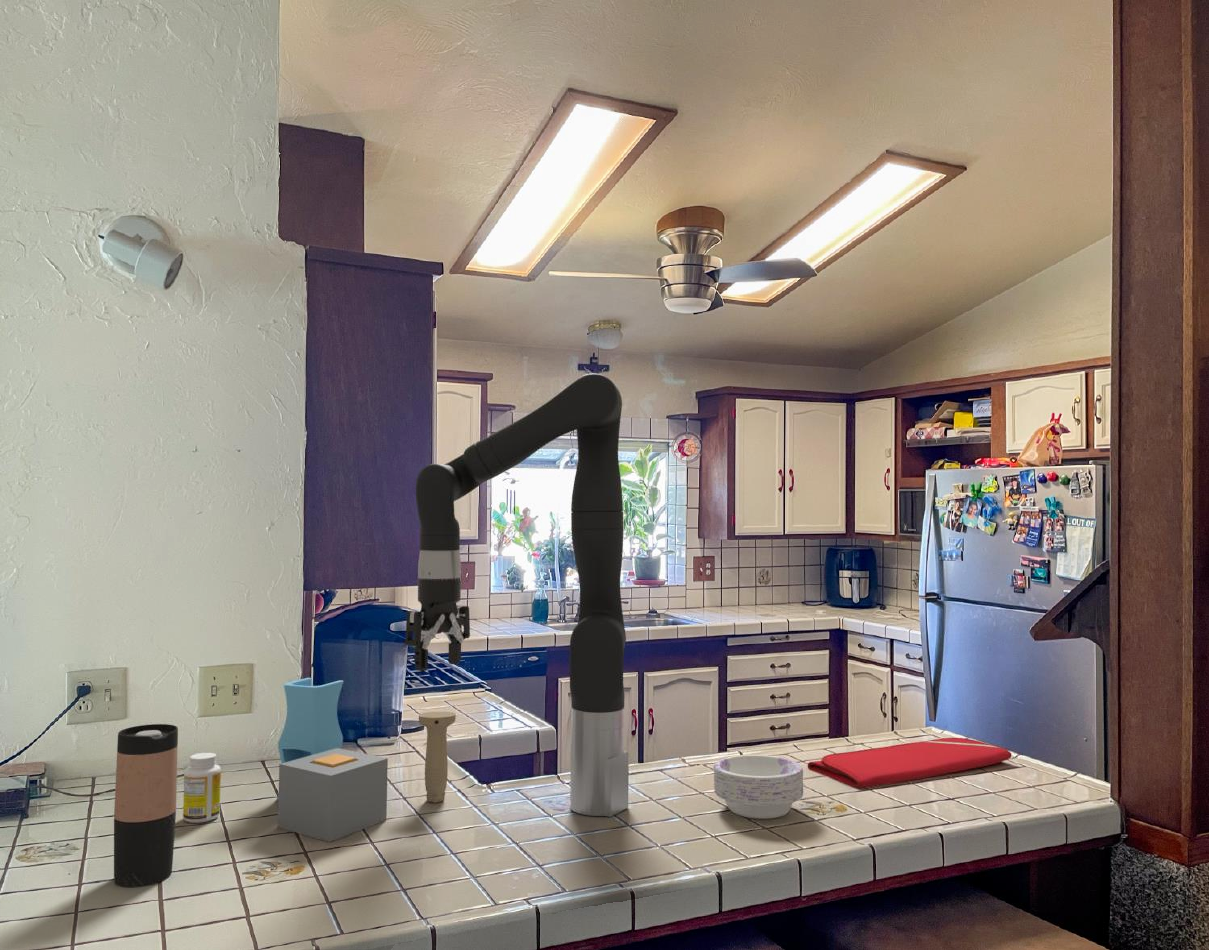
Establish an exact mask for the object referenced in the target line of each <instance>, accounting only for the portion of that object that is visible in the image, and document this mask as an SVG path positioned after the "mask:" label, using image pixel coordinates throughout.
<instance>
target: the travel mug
mask: <svg viewBox="0 0 1209 950" xmlns="http://www.w3.org/2000/svg"><path fill="white" fill-rule="evenodd" d="M178 737H179V729H178V726H176V725H173V724H168V723H167V724H166V723H165V724H164V723H154V724H153V723H152V724H143V725H137V726H130V727H127V728H124V729H121V730H120V731H118V733H117V746H116V747H117V748H116V750H117V751H116V769H115V789H114V791H115V793H114V814H113V818H114V819H113V881H114V883H115V885H117V886H119V887H123V888H139V887H146V886H151V885H154V884H158V883H160V882H162V881H165V880H166V879H167V878H170V877H171V875H172V873H173V863H174V848H175V846H174V845H175V833H176V831H175V830H176V818H177V791H178V790H177V789H178V786H177V785H178V749H179V748H178V746H179V745H178V743H179V739H178Z"/></svg>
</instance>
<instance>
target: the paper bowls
mask: <svg viewBox="0 0 1209 950" xmlns="http://www.w3.org/2000/svg"><path fill="white" fill-rule="evenodd" d="M803 779H804V770H803V766H802V765H801V764H800V763H798V762H797V761H795V760H792V759H789V758H787V757H781V756H777V755H776V756H775V755H766V754H740V755H733V756H728V757H724V758H721V759H719V760H717V761H716V762H715V763H714V764H713V788H714V794H715V795H716V796H718V797H719V798H720V799H722V800H724V801H725V804H726V807H727V808H728V809H729V811H731V812H732V813H734V814H736V815H738V816H739V817H740V816H741V817H744V818H748V819H757V820H770V819H771V820H772V819H777V818H781V817H783V816H785V815H787V813H788V812H789V811H790V810H791V808H792V805H793V803H795V802H797V801H800V800H801V799H802V798H803V796H804V780H803Z"/></svg>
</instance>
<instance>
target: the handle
mask: <svg viewBox="0 0 1209 950" xmlns="http://www.w3.org/2000/svg"><path fill="white" fill-rule="evenodd" d="M456 716H457V715H456V712H453V711H428V712H421V713H419V714H418V723H419V724H420V725H421V726H423V727H425V728H426V733H427V734H426V735H427V736H426V749H425V750H426V752H425V760H424V761H425V763H424V785H425V787H424V788H425V791H426V801H427V802H428V803H434V804H436V803H439V802H440V803H441V802H442V803H443V802H444V801H445V798H446V790H447V783H448V782H447V781H448V775H449V774H448V773H449V771H448V770H449V769H448V768H449V767H448V765H449V764H448V742H447V739H448V738H447V732H448V727H449V726H452V724H454V723H455V722H456Z"/></svg>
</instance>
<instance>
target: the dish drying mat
mask: <svg viewBox="0 0 1209 950" xmlns="http://www.w3.org/2000/svg"><path fill="white" fill-rule="evenodd" d="M1011 757H1012V752H1010V751H1009V750H1008V749H1006V748H1003V747H1000V746H996V745H995V744H991V743H986V742H983V741H979V740H974V739H970V738H964V737H945V738H937V739H930V740H924V741H916V742H909V743H901V744H895V745H889V746H880V747H874V748H867V749H862V750H853V751H846V752H838V753H837V752H835V753H830V754H827V755H823V756H822V758H821V760H816V761H809V762H807V769H808V770H810V771H813V772H815V773H818V774H821V775H822V776H823V775H824V776H825V777H828V778H831V779H833V780H836V781H837V782H840V783H843V784H845V785H848V786H850V787H853V788H855V789H857V790H858V789H865V788H870V787H872V788H873V787H877V786H885V785H890V784H897V783H901V782H902V783H903V782H908V781H912V780H919V779H921V780H922V779H926V778H932V777H937V776H942V775H947V774H951V773H955V772H961V771H967V770H971V769H976V768H981V767H986V766H991V765H995V764H998V763H1002V762H1004V761H1007V760H1009V759H1010V758H1011Z"/></svg>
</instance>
